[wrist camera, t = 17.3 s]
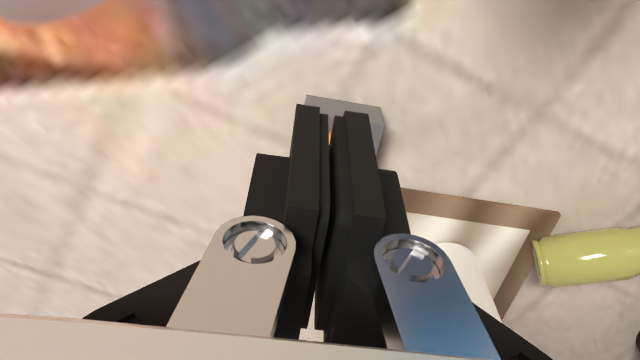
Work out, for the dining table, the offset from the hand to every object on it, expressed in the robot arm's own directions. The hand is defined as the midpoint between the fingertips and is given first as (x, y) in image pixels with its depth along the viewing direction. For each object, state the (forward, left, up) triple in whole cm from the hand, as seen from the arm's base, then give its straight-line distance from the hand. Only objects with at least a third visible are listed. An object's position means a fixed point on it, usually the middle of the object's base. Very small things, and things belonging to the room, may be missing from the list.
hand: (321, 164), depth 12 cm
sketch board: (-16, +23, -24) cm, 37 cm away
